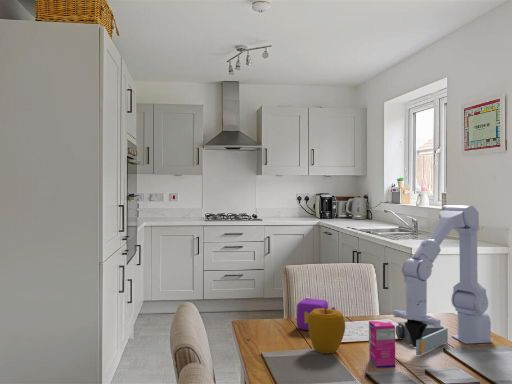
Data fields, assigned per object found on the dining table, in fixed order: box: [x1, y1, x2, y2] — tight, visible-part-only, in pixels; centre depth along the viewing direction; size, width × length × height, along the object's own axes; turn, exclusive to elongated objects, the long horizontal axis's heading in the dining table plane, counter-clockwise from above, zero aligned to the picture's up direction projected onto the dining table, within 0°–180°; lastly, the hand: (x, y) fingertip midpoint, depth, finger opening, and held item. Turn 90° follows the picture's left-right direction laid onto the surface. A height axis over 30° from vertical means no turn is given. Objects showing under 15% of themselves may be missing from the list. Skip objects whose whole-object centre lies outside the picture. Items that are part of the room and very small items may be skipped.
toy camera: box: [296, 296, 336, 331], centre depth 169 cm, size 11×14×10 cm
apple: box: [308, 308, 346, 355], centre depth 145 cm, size 11×11×13 cm
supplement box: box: [368, 319, 397, 369], centre depth 134 cm, size 6×6×12 cm
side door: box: [415, 327, 449, 356], centre depth 146 cm, size 18×1×4 cm, turn 134°
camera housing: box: [395, 321, 445, 346], centre depth 156 cm, size 13×8×6 cm, turn 99°
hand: (416, 346), depth 142 cm, fingers closed
